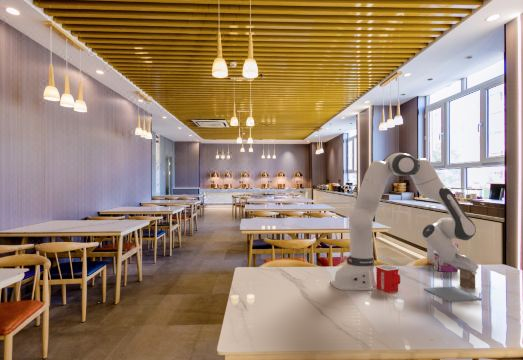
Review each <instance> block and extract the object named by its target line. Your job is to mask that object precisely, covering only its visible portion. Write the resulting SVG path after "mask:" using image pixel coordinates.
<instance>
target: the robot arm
mask: <svg viewBox="0 0 523 360" xmlns="http://www.w3.org/2000/svg"><path fill="white" fill-rule="evenodd" d="M392 175H395V176H400V177H401V176H403V177H406V176H410V178H411V179H412V181H413V184H414V186H415V188H416V190H417V192H418V193H419V194H420V196H422V197H424V198H426V199H430V200H433V201H434V202H435V201H436V203H439V204H441V205H442V206H443V207H444V208H445V210H446V212H447V213H448V216H450V217H439V218H437V220H436V221H435V222H433V223H430V224H427V225H426V226H425V227H424V228H423V229H422V233H421V234H422V236H423V239H424V241H425V242H426V244H427V243H428V244H429V245H430V246H431V247H432V248H433V249H435V250H434V252H433V254H434V255H436V256H437V257H438V258H439V259H440V260H442V261H443V262H445V263H448V264H451V265H452V266H454V267H455V268H456V269H458V271H460V268H463V269H466V270H469V271H471V272H470V273H471V274H473V275H475V276H476V275H477V273H478V272H477V270H478V269H479V265H478V263H476V262H475V261H474V260H473V259H472V258H470V257H469V256H468V255H464V254H462V253H461V251H460V249H459V247H458V248H457V247H456V246H455V244H454V243H455V242H453V241H452V240H453V239H456V240H457V239H458V240H462V241H469V240H471V239H473V237H474V236H475V234H476V230H477V228H476V225H475V223H474V221H473V220H472V219H471V218H470V217H469V216H468V215H467V213H466V212H465V211H464V209H463V207H462V205H461V204H460V202H459V201H458V200H457V198H456V196H455V195H454V193H453V192H452V191H451V189H449V188H448V187H447V186H445V184H444V183H443V182H442V180H441V179H440V177H439V175H438V173H437V170H436V169H435V168H434V166H433V164H432V163H431V162H430V161H429V160H428V159H427V158H424V157H422V158H421V157H419V158H415V157H414V156H412V155H411V154H409V153H404V152H396V153H395V152H394V153H391V154H388V155H387V156H386V157H385V158H384V159H383V160H374V161H372V162H371V163H370V165H369V166H368V168H367V170H366V171H365V174H364V176H363V179H362V181H361V185H360V187H359V190H358V192H357V193H358V194H357V197H356V199H355V203H354V205H353V209H352V210H351V212H350V213H349V215H348V229H349V255H348V256H346V255H343V257H342V259H343V260H344V261H346V263H345V264H343V265H342V266H341V267H340V268H338V269H337V270H336V271H335V275H334V278H332V279H331V280H330V284H331V285H332V287H334V288H336V289H338V290H341V291H373V290H374V288H377V283H376V279H375V271H374V265H375V259H374V258H375V257H374V239H373V221H374V218H375V215H376V213H377V210H378V208H379V205H380V202H381V198H382V197H383V194H384V191H385V189H386V186H387V184H388V181H389V179H390V177H391V176H392Z"/></svg>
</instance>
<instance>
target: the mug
mask: <svg viewBox="0 0 523 360" xmlns="http://www.w3.org/2000/svg"><path fill="white" fill-rule="evenodd" d="M375 269H376V271H375V272H376V275H375V276H376V279H375V282H376V285H377V286H376V289H377V290H379V291H381V292H384V293H387V294H389V293H396V292H399V284H401V275H400V274H399V270H400V269H399V268H398V267H396V266H393V265H390V264H382V265H379V264H378V265H376V266H375Z"/></svg>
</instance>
